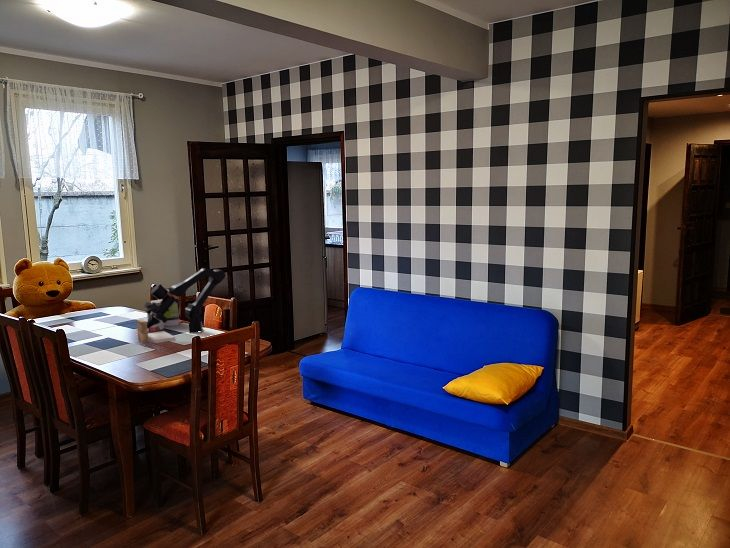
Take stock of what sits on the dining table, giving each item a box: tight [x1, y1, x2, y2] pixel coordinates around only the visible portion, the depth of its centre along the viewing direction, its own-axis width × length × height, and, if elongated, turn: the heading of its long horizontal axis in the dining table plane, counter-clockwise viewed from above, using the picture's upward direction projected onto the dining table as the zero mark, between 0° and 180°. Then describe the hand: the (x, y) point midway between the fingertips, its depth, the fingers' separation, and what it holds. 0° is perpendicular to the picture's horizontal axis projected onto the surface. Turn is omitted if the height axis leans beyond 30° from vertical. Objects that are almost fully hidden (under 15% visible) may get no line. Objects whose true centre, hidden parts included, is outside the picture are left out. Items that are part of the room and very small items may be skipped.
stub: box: [136, 318, 149, 344], centre depth 291 cm, size 3×7×11 cm, turn 39°
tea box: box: [150, 299, 180, 327], centre depth 325 cm, size 15×10×15 cm
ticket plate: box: [148, 330, 176, 344], centre depth 297 cm, size 10×17×2 cm, turn 39°
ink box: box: [146, 312, 165, 333], centre depth 314 cm, size 9×5×12 cm, turn 168°
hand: (145, 328), depth 292 cm, fingers closed, pressing on stub
